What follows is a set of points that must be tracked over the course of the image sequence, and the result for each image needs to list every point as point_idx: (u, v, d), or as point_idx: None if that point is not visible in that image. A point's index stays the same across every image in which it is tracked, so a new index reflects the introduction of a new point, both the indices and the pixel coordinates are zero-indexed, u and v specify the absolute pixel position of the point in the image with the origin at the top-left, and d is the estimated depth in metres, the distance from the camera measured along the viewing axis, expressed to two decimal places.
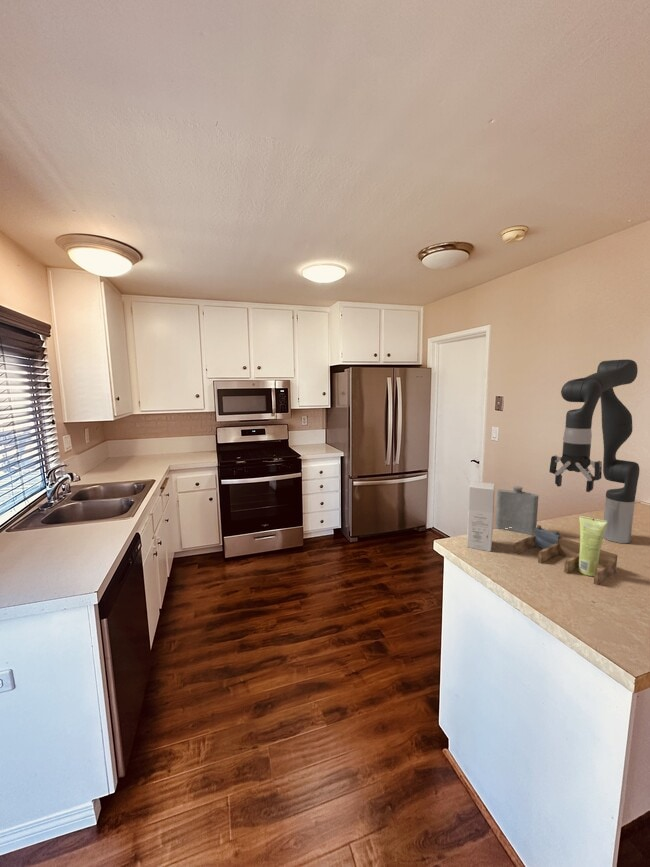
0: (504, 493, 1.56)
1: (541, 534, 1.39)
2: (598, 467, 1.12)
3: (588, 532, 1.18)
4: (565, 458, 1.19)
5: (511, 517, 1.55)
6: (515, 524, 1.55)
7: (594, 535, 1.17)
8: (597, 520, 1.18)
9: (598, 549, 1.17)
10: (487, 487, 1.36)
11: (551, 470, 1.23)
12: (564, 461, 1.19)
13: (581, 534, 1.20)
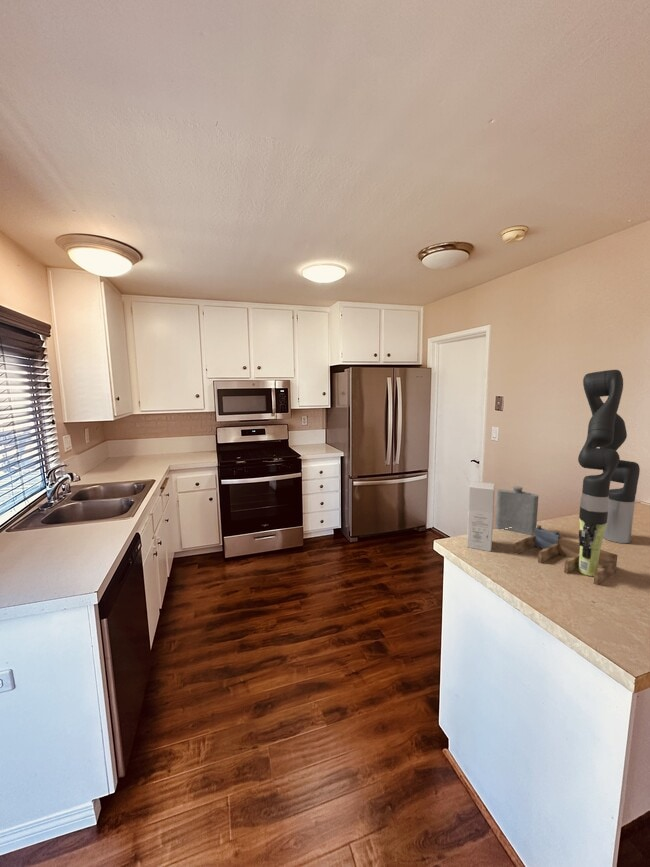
0: (504, 493, 1.56)
1: (541, 534, 1.39)
2: None
3: None
4: (592, 527, 1.16)
5: (511, 517, 1.55)
6: (515, 524, 1.55)
7: None
8: None
9: (598, 549, 1.17)
10: (487, 487, 1.36)
11: (588, 545, 1.15)
12: (592, 530, 1.16)
13: None
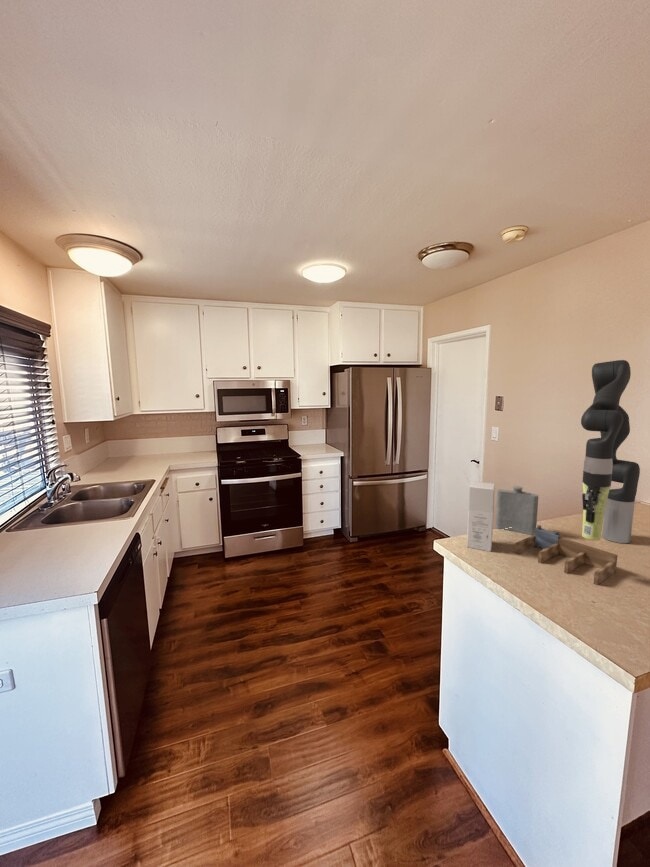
0: (504, 493, 1.56)
1: (541, 534, 1.39)
2: None
3: None
4: (596, 490, 1.14)
5: (511, 517, 1.55)
6: (515, 524, 1.55)
7: None
8: None
9: (602, 513, 1.16)
10: (487, 487, 1.36)
11: (592, 509, 1.14)
12: (595, 493, 1.14)
13: None
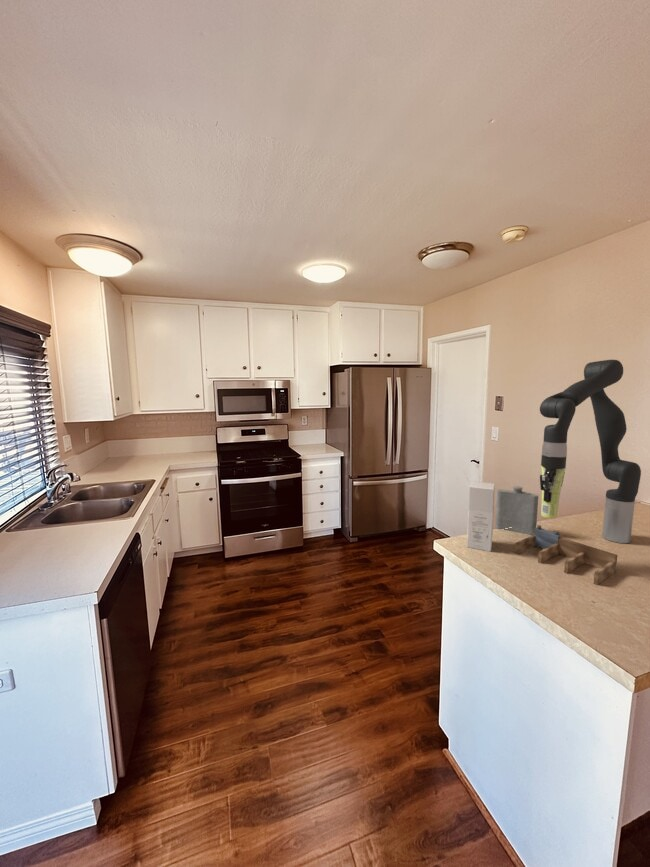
0: (504, 493, 1.56)
1: (541, 534, 1.39)
2: None
3: None
4: (552, 472, 1.25)
5: (511, 517, 1.55)
6: (515, 524, 1.55)
7: None
8: None
9: (558, 493, 1.26)
10: (487, 487, 1.36)
11: (548, 489, 1.24)
12: (552, 475, 1.25)
13: None
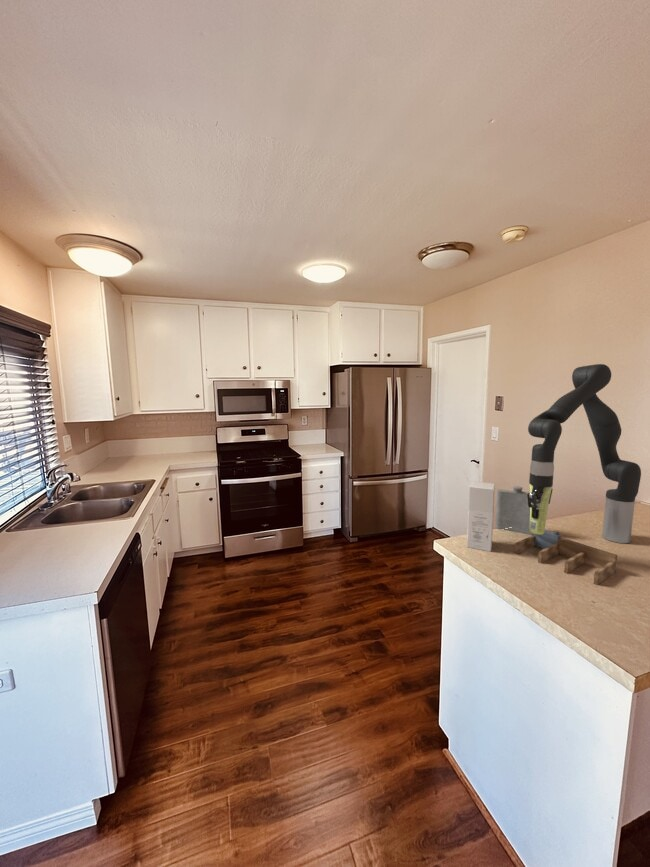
0: (504, 493, 1.56)
1: None
2: (551, 493, 1.34)
3: None
4: (539, 490, 1.29)
5: (511, 517, 1.55)
6: (515, 524, 1.55)
7: None
8: None
9: (545, 510, 1.31)
10: (487, 487, 1.36)
11: (536, 506, 1.29)
12: (539, 493, 1.29)
13: None
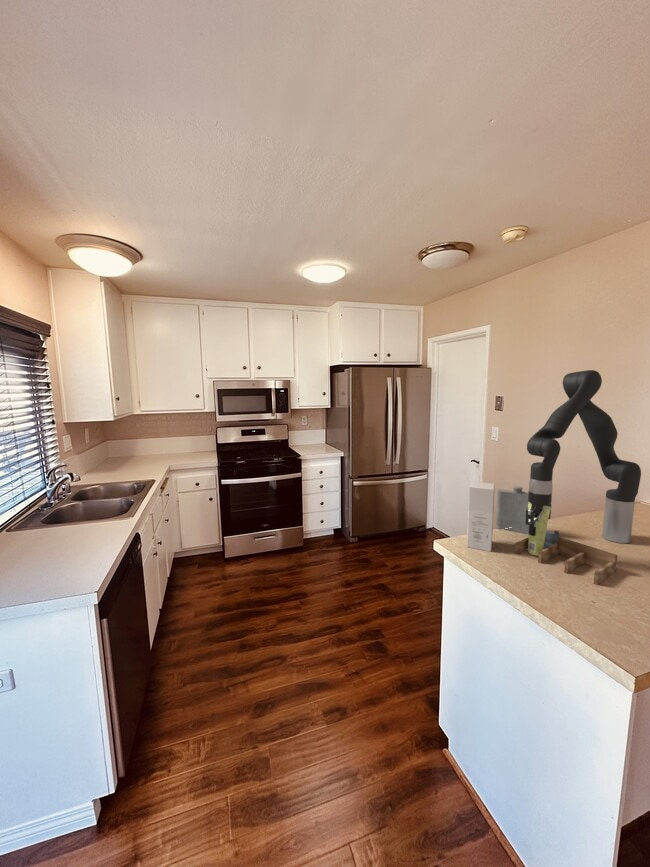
0: (504, 493, 1.56)
1: None
2: None
3: (535, 517, 1.33)
4: (538, 508, 1.30)
5: (511, 517, 1.55)
6: (515, 524, 1.55)
7: (540, 519, 1.32)
8: (543, 506, 1.32)
9: (543, 532, 1.32)
10: (487, 487, 1.36)
11: (533, 523, 1.29)
12: (538, 511, 1.30)
13: None
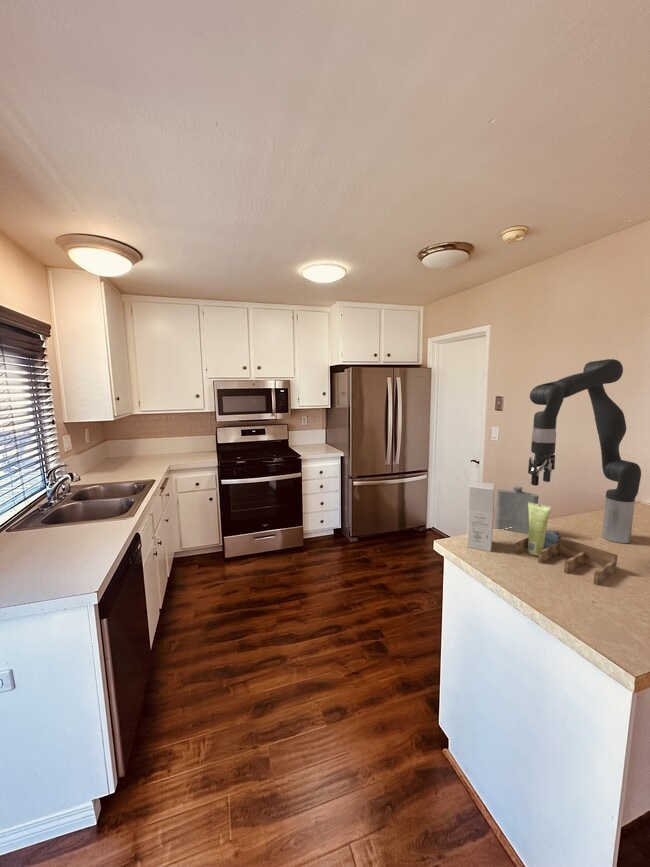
0: (504, 493, 1.56)
1: None
2: (554, 458, 1.33)
3: (535, 517, 1.33)
4: (542, 457, 1.28)
5: (511, 517, 1.55)
6: (515, 524, 1.55)
7: (540, 519, 1.32)
8: (543, 506, 1.32)
9: (543, 532, 1.32)
10: (487, 487, 1.36)
11: (536, 472, 1.26)
12: (541, 460, 1.28)
13: (529, 519, 1.34)
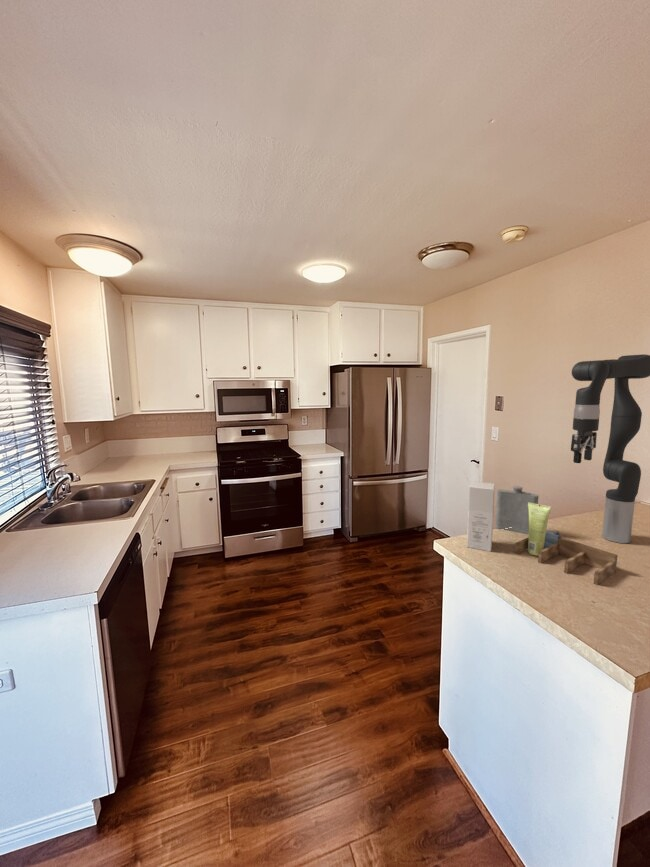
0: (504, 493, 1.56)
1: None
2: None
3: (535, 517, 1.33)
4: (585, 434, 1.25)
5: (511, 517, 1.55)
6: (515, 524, 1.55)
7: (540, 519, 1.32)
8: (543, 506, 1.32)
9: (543, 532, 1.32)
10: (487, 487, 1.36)
11: (579, 449, 1.24)
12: (584, 437, 1.25)
13: (529, 519, 1.34)
